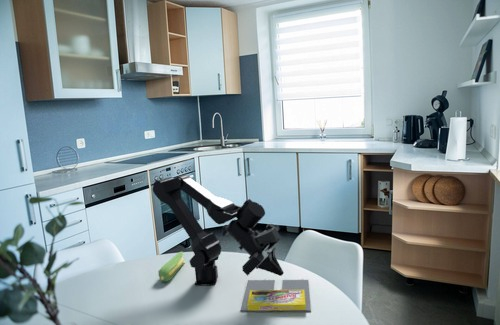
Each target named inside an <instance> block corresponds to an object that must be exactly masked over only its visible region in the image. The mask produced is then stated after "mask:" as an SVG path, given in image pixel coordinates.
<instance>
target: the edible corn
mask: <svg viewBox="0 0 500 325" xmlns="http://www.w3.org/2000/svg"><path fill="white" fill-rule="evenodd" d="M183 252H184V251H179V252H177V253H176V255H175V256H173V257H172V258H171V259H170V260H169V261H167V262H166V263H165V264H164V265H162V266H161V267H160V269H159V270H158V277H159V280H160V281H161V282H170V281H171V279H172V278H174V276H175V275H176V274H177V272H179V270H180V269H181V267H182V266H184V264H185V262H184V261H185V260H184V257H183V254H184V253H183Z"/></svg>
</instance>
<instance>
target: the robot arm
mask: <svg viewBox="0 0 500 325" xmlns="http://www.w3.org/2000/svg"><path fill="white" fill-rule="evenodd" d="M152 192H153V194H154V195H155V196H156V198H158V200H159V201H160V202H162V203H164V204H165V205H167V206H168V207H169V208H170V210H171V211H172V212H173V214H174V215H175V218H177V220H178V222H179V224H180V225H181V227H182V228H183V229H184V231H185V232H186V234H187V235H188V237H189V239H190V240H191V244H192V245H191V246H192V253H193V256H192V257H191V258H190V259H189V264H190V267H191V268H194V271H195V272H194V273H195V282H194V285H195V286H215V284H216V282H217V280H218V278H219V272H218V266H217V265H216V261H218V260H219V258H220V255H221V253H222V247H221V242H220V240H219V239H218V238H217V237H216V235H215V233H214V232H211V233H207V232H206V231H205V230H204V229H203V228H202V226H201V225H200V222H199V220H197V218H196V217H195V215H194V214H193V212H192V211H191V210H190V208H189V206H188V205H187V203H186V202H185V201H184V199H183V197H182V192H183V193H185V194H186V195H187V196H189V198H191V199H193V200H194V201H196V203H198V204H199V205H201V207H203V208H204V210H206V212H207V215H208V216H209V217H210V219H211V220H212V221H214V222H215V224H218V225H223V224H225V225H223V226H222V232H221V233H222V237H225V236H227V235H228V234H229V235H230V236H231V238H232V239H233V240H235V241H236V242H237V243H238V244H239V247H238V249H239V250H241V251H242V249H243V250H244V251H245V252H246V253H247V254H248V255H249V257H248V260H247V261H246V262H245V263H244V264H243V265H242V272H243V273H244V275H246V276H249V275H250V274H251V273H252V272H253V271H254V270H255V269H256V270H257V269H259V270H262V271H266V272H269V273H272V274H274V275H277V276H280V277H282V276H283V275H284V271H283V269H282V267H281V265H280V263H279V261H278V259H277V256H276V250H277V249H276V247H274V246H275V245H276V244H277V243H278V242H280V240H281V239H280V237H281V236H280V234H279V232H278V231H279V228H278V227H276V225H274V224H273V223H270V224H267V225H266V226H265V230H264V231H262V232H260V231H259V230H253V228H254V227H255V226H256V225H258V223H259V222H260V221H261V220H262V219H263V217H264V216H265V215H266V211H265V208H264V206H263V205H261V204H259V203H258V202H255V201H253V200H251V199H250V198H249V199H246V200H245V201H243V202H244V203H243V204H242V205H241V206H240V205H236V204H235V203H234V202H232V201H231V200H228V199H226V198H224V197H220V196H219V197H218V196H216V195H214V194H213V193H211V191H210V190H208V189H206V188H205V187H204V186H202V185H201V184H200V183H198V182H196V181H195V180H194V179H193V178H192V177H191V176H190V175H189V174H182V175H179V176H175V177H172V176H169V177H165V178H163V179H162V178H161V179H159V180H155V181H154V183H153V185H152ZM235 218H236V219H235ZM228 222H229V223H228ZM226 223H228V224H226ZM272 248H273V249H272Z"/></svg>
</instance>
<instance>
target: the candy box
mask: <svg viewBox="0 0 500 325" xmlns="http://www.w3.org/2000/svg"><path fill="white" fill-rule="evenodd" d="M247 310H254V311H253V312H260V311H259V310H272V311H281V310H306V303H305V291H304V290H282V289H274V290H250V294H249V299H248V304H247Z"/></svg>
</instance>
